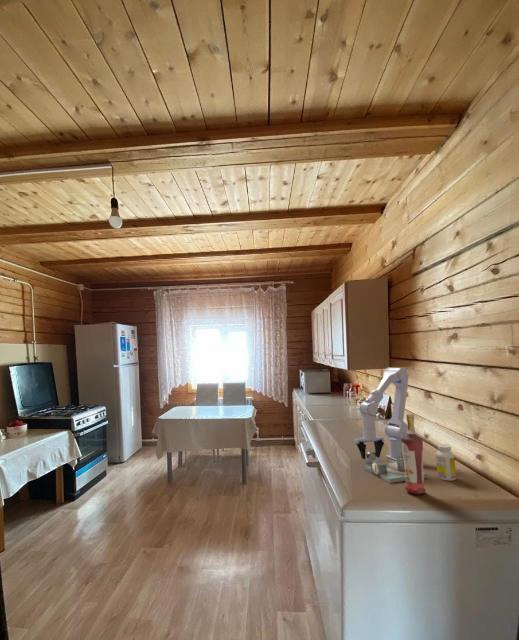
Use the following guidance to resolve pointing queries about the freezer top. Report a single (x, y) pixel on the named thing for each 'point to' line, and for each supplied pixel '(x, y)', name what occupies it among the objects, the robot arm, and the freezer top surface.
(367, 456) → the cylinder
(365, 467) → the scale
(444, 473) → the supplement bottle
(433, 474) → the freezer top surface
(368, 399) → the robot arm
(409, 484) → the liquor
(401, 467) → the cylinder
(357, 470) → the freezer top surface
